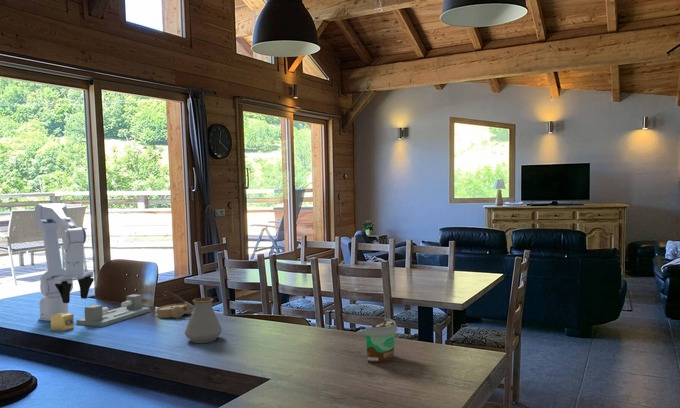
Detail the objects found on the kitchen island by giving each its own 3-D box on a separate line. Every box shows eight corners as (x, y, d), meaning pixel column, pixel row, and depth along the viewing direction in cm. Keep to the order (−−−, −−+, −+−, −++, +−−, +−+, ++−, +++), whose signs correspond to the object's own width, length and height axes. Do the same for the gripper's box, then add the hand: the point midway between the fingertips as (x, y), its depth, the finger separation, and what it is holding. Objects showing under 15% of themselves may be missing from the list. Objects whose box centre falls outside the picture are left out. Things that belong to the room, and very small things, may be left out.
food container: (385, 368, 131) (385, 330, 131) (365, 364, 134) (364, 327, 134) (405, 355, 142) (404, 320, 141) (385, 351, 145) (385, 317, 145)
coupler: (64, 331, 172) (64, 316, 172) (49, 329, 174) (49, 315, 174) (74, 328, 175) (74, 314, 175) (59, 326, 178) (59, 312, 178)
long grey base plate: (76, 324, 180) (76, 306, 180) (126, 309, 203) (125, 293, 203) (102, 326, 176) (102, 308, 176) (149, 311, 199) (149, 295, 199)
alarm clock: (170, 303, 200) (199, 300, 194) (172, 315, 200) (201, 312, 194) (149, 309, 190) (179, 306, 184) (151, 322, 190) (181, 319, 184)
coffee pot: (229, 336, 162) (228, 290, 162) (206, 346, 152) (206, 297, 151) (177, 330, 171) (176, 286, 170) (152, 339, 160) (151, 293, 160)
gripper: (65, 265, 167) (66, 305, 168) (99, 260, 181) (100, 297, 181) (49, 264, 170) (50, 304, 170) (84, 259, 183) (85, 296, 184)
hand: (75, 300), depth 176 cm, fingers open, 7 cm apart
